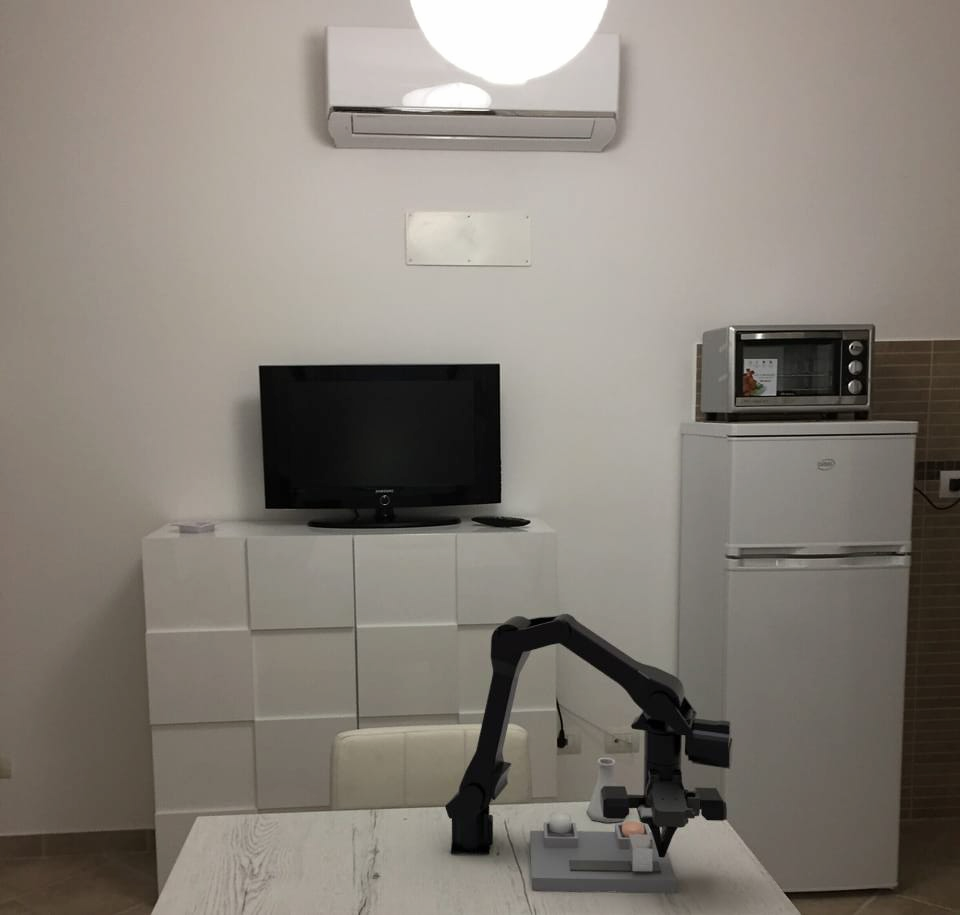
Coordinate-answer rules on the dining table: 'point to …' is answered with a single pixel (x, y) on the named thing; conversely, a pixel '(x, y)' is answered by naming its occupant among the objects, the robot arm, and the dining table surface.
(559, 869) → the panel
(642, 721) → the robot arm
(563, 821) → the grey button
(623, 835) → the terracotta button
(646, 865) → the rough gray brick
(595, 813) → the flask
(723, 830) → the dining table surface
